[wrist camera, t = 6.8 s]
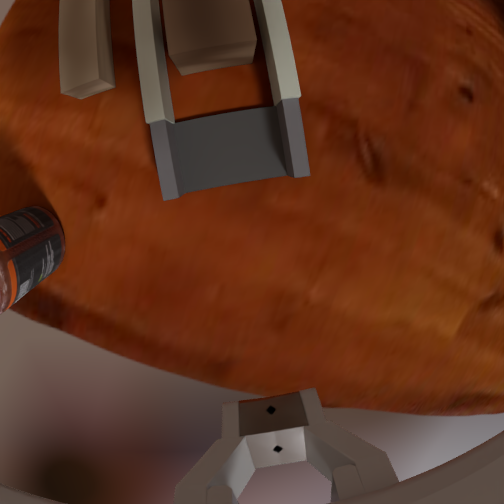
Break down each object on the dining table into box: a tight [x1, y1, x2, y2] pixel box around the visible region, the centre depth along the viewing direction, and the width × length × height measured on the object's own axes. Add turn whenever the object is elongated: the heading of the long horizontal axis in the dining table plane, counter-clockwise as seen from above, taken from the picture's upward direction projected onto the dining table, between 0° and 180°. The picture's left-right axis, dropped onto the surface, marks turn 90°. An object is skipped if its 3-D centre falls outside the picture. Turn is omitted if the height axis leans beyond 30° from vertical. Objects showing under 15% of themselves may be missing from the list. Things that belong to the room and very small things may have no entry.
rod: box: [59, 0, 116, 99], centre depth 16 cm, size 3×14×4 cm, turn 9°
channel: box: [132, 0, 310, 201], centre depth 18 cm, size 9×17×4 cm, turn 9°
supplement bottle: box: [0, 206, 65, 314], centre depth 17 cm, size 6×6×11 cm
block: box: [162, 0, 257, 76], centre depth 17 cm, size 5×5×5 cm
